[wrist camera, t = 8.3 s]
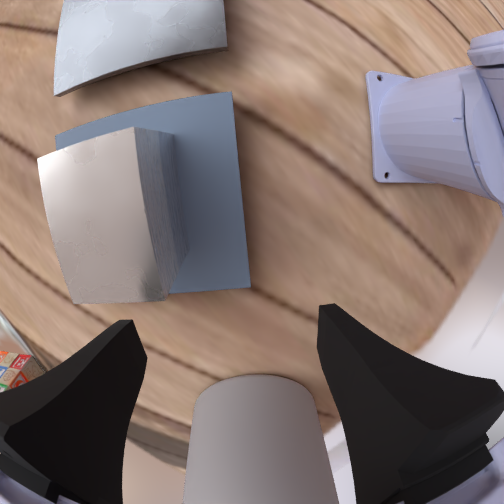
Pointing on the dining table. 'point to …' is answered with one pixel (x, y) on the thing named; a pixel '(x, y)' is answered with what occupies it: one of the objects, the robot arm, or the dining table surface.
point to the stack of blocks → (17, 370)
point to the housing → (116, 216)
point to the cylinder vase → (257, 445)
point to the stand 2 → (196, 183)
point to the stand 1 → (132, 36)
